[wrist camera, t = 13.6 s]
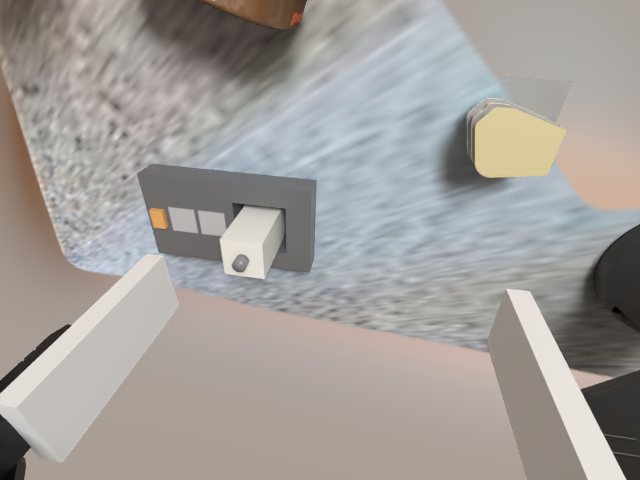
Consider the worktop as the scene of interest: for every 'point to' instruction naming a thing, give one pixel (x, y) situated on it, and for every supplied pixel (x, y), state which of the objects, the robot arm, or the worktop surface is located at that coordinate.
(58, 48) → the worktop surface
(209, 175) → the power strip
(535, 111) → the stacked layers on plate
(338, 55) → the worktop surface
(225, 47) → the worktop surface
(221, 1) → the tin
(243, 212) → the block
